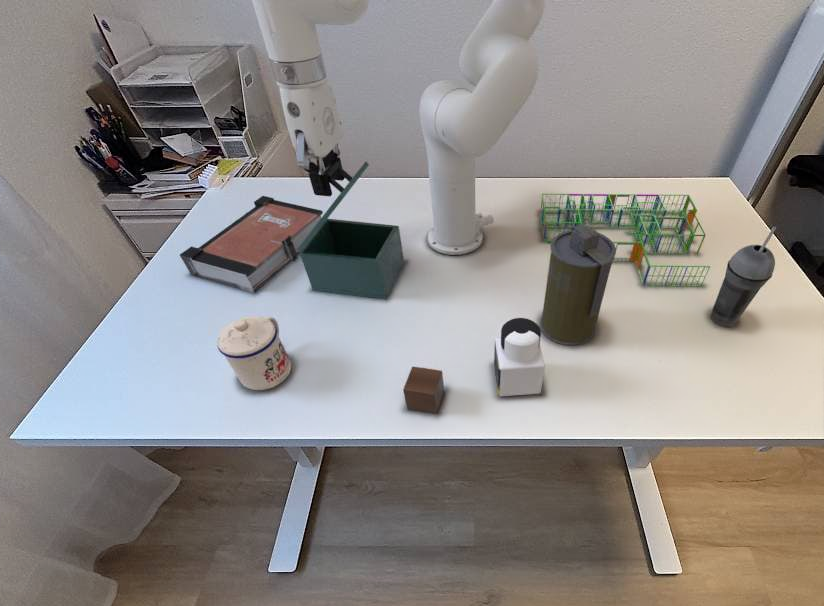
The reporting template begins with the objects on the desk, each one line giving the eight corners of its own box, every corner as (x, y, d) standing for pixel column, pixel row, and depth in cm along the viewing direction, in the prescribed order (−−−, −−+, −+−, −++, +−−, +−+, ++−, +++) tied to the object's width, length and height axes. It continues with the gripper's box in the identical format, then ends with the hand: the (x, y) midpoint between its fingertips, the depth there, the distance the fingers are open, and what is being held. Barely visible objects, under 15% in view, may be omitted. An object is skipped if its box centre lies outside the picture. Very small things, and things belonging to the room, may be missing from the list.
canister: (529, 319, 88) (539, 225, 72) (572, 301, 91) (590, 208, 76) (563, 355, 81) (582, 260, 66) (608, 334, 85) (636, 239, 70)
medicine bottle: (493, 365, 80) (495, 313, 71) (534, 363, 80) (540, 310, 71) (498, 397, 75) (500, 346, 66) (541, 394, 76) (549, 343, 66)
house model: (681, 211, 113) (688, 193, 109) (718, 286, 94) (727, 266, 90) (539, 210, 114) (541, 191, 110) (547, 284, 95) (550, 264, 91)
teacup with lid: (280, 395, 76) (253, 345, 67) (229, 389, 77) (196, 339, 68) (307, 344, 84) (287, 294, 75) (261, 339, 84) (235, 289, 76)
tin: (404, 262, 100) (398, 225, 93) (385, 299, 92) (378, 262, 85) (336, 254, 102) (326, 218, 95) (312, 290, 94) (299, 253, 87)
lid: (369, 164, 84) (346, 143, 82) (343, 198, 76) (317, 176, 74) (327, 217, 95) (306, 200, 93) (300, 252, 87) (276, 234, 85)
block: (415, 386, 77) (412, 366, 73) (444, 390, 76) (442, 370, 73) (407, 409, 74) (402, 389, 70) (436, 413, 73) (434, 394, 69)
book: (257, 293, 93) (247, 273, 89) (191, 274, 97) (179, 254, 94) (329, 228, 109) (324, 209, 105) (270, 214, 113) (262, 195, 109)
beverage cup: (742, 310, 89) (796, 216, 74) (743, 335, 84) (801, 240, 69) (703, 303, 90) (748, 208, 75) (702, 326, 86) (750, 231, 71)
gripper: (298, 90, 63) (331, 213, 76) (343, 54, 73) (365, 167, 87) (247, 87, 63) (289, 209, 77) (300, 52, 74) (329, 164, 88)
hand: (329, 186), depth 82 cm, fingers closed on lid, 5 cm apart
